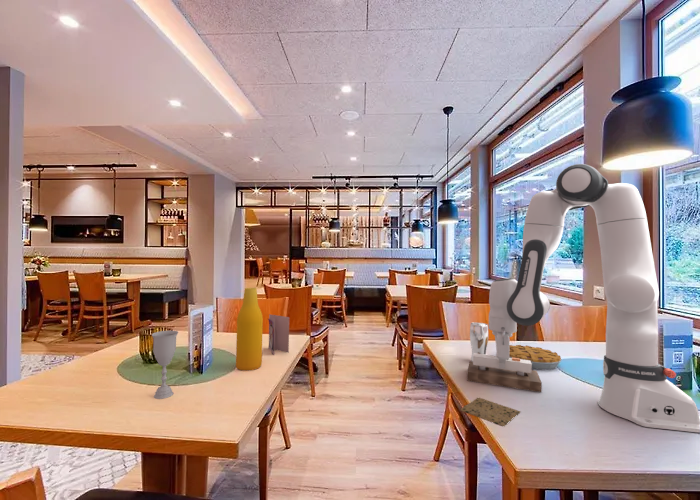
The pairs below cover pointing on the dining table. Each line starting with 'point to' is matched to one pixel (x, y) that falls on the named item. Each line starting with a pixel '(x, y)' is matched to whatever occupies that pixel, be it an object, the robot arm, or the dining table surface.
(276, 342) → the greeting card
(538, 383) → the socket board
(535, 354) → the pie
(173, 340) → the chalice
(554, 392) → the dining table surface
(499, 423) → the seeded crispbread
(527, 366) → the power strip
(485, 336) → the beer glass
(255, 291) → the beer bottle
